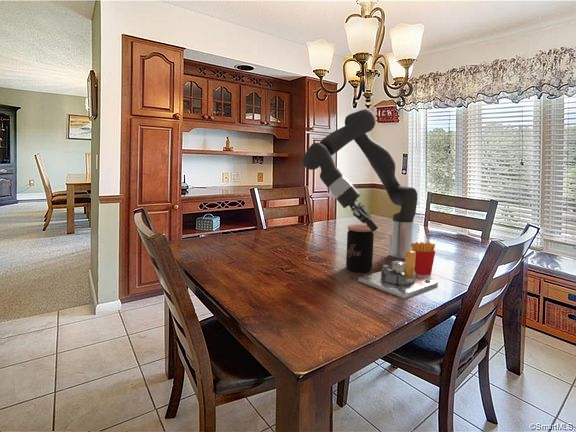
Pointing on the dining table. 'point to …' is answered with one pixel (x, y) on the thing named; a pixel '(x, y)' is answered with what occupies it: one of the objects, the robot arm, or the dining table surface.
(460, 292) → the dining table surface
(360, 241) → the coffee jar
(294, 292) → the dining table surface
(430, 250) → the french fries
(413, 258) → the spiky gray ring
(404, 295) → the flange plate
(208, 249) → the dining table surface
